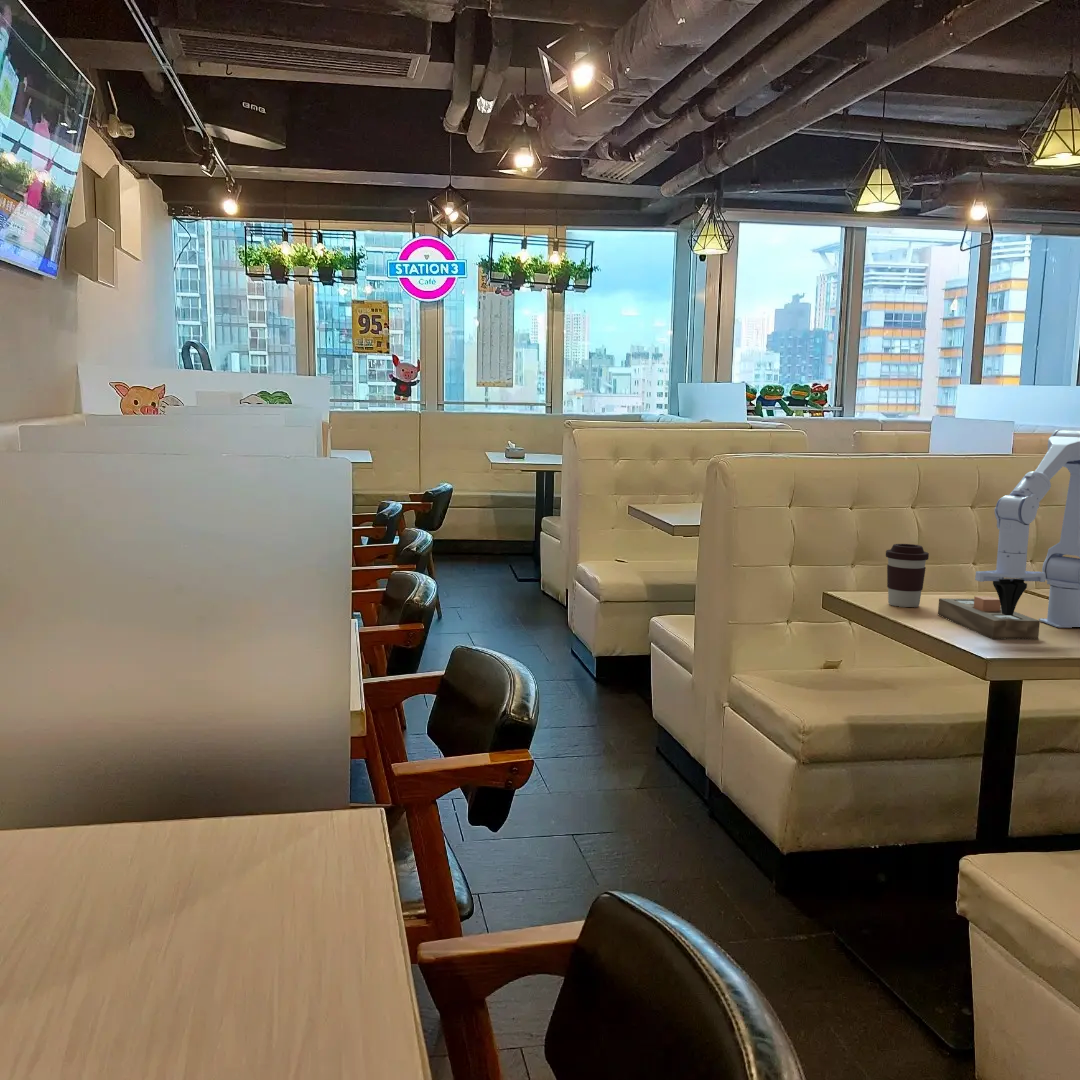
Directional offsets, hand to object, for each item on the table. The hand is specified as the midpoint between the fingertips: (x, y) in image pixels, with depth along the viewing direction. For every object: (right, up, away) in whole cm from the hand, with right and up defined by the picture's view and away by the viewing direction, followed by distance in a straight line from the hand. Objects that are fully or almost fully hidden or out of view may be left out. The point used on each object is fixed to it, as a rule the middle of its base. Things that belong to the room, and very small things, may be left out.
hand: (1007, 614), depth 215 cm
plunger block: (-1, -3, +9) cm, 10 cm away
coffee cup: (-10, 0, +33) cm, 34 cm away
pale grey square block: (0, -4, 0) cm, 4 cm away
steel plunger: (-1, -1, +17) cm, 17 cm away
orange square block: (-1, 0, +9) cm, 9 cm away
